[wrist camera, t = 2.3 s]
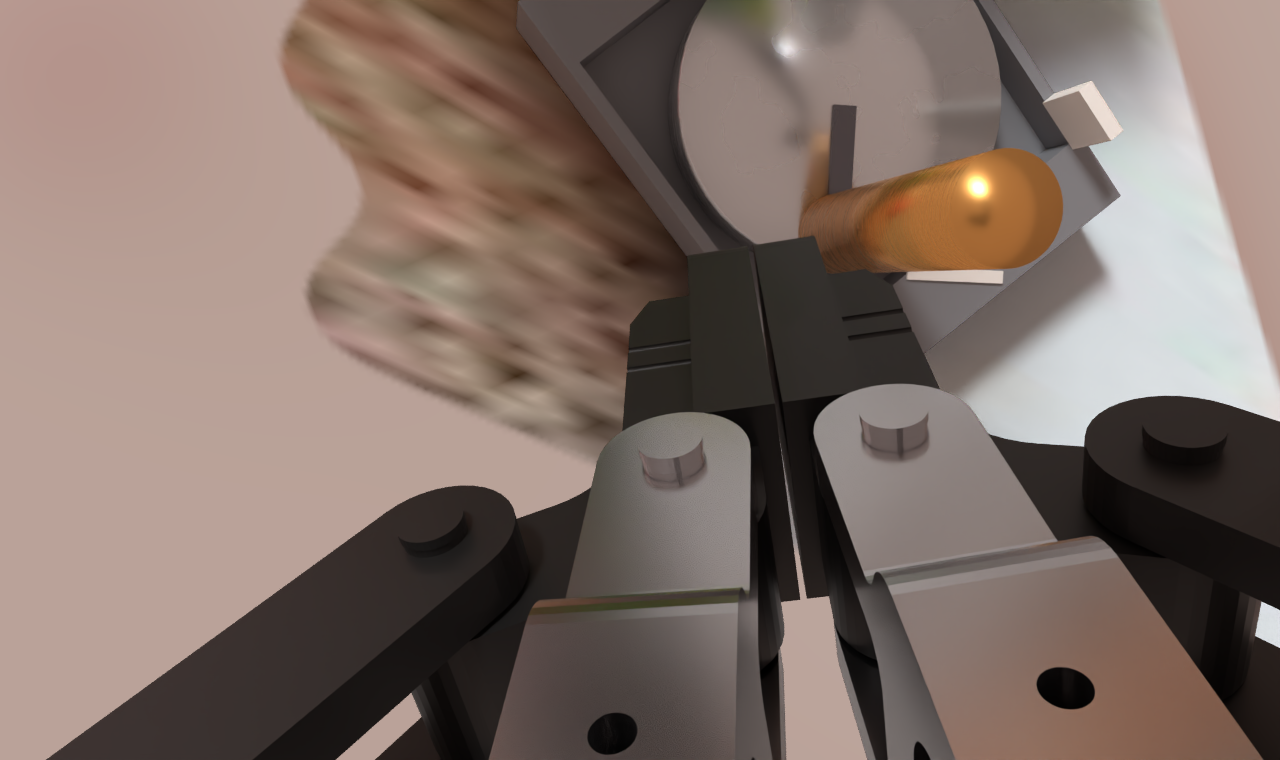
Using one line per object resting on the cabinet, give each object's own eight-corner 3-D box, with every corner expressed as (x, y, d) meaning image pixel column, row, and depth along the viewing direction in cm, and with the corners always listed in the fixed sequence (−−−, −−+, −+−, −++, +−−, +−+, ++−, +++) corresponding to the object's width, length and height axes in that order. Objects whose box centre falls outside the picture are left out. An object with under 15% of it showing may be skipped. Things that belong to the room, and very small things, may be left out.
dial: (675, -67, 30) (790, -298, 18) (981, -38, 32) (1275, -235, 20) (661, 268, 31) (761, 258, 19) (958, 280, 33) (1227, 278, 21)
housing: (516, 28, 32) (519, -19, 27) (806, -193, 32) (861, -279, 27) (804, 414, 34) (856, 435, 29) (1068, 203, 35) (1161, 189, 30)
